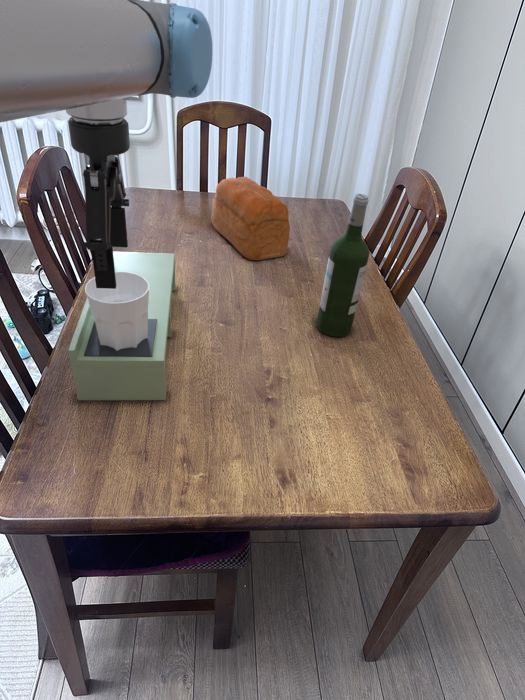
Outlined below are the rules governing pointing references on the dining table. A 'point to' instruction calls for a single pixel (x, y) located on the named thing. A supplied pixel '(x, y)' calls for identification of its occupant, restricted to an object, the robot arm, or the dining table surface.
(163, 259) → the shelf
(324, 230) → the dining table surface
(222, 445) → the dining table surface
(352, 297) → the wine bottle
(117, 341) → the cup
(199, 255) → the dining table surface
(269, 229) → the bread
